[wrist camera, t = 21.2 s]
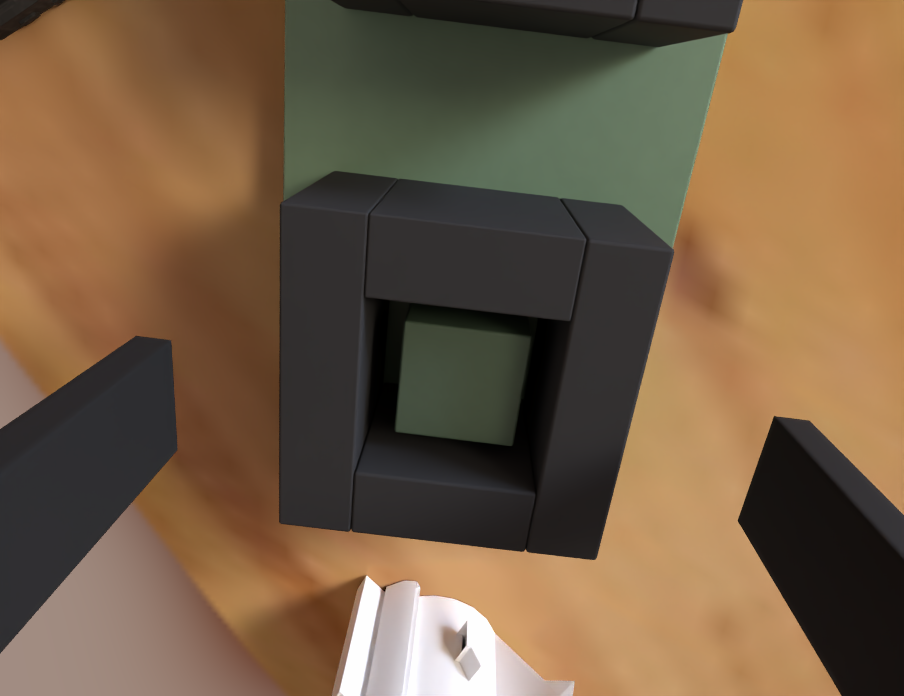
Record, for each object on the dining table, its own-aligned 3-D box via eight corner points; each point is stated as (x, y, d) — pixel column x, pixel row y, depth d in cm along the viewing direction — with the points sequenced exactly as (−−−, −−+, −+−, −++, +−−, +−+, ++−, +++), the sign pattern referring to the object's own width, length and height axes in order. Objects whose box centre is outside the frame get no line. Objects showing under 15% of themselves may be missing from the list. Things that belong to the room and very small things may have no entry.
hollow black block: (570, 453, 20) (596, 561, 16) (324, 424, 20) (278, 524, 16) (624, 204, 17) (676, 249, 13) (333, 170, 17) (279, 202, 13)
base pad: (593, 513, 23) (623, 629, 18) (289, 476, 23) (238, 583, 18) (858, -549, 12) (1093, -942, 8) (306, -619, 12) (197, -1063, 8)
